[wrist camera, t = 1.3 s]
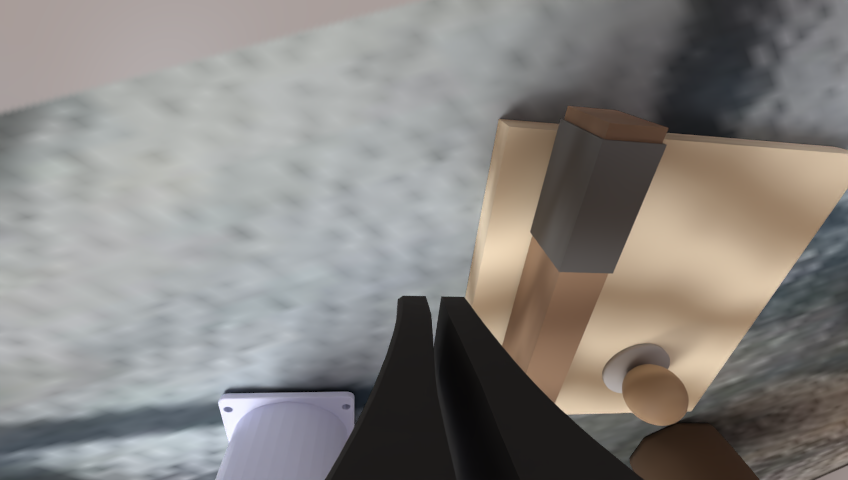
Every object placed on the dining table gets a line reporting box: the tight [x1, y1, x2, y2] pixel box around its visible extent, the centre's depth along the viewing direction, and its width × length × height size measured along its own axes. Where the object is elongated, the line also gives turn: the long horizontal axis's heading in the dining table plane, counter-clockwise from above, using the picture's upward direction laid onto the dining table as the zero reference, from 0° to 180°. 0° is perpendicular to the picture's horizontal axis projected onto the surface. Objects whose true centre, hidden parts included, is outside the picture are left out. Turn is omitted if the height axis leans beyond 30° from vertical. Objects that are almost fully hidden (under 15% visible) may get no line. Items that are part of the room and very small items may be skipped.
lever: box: [502, 106, 668, 403], centre depth 17 cm, size 18×3×3 cm, turn 174°
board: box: [465, 119, 848, 426], centre depth 19 cm, size 18×17×5 cm
